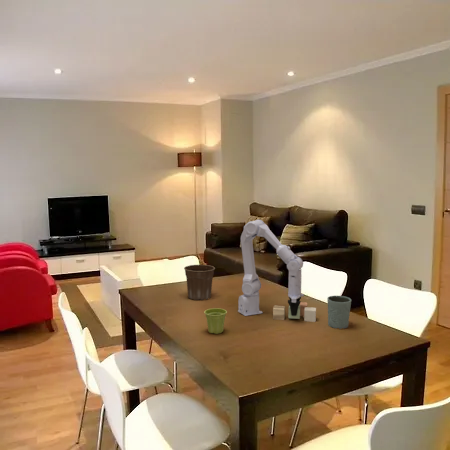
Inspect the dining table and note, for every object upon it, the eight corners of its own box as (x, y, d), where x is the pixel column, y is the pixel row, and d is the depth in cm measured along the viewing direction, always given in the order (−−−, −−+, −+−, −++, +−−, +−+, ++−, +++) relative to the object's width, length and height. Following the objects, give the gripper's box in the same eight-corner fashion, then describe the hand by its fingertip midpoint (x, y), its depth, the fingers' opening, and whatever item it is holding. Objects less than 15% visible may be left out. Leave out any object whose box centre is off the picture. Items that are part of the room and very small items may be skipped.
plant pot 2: (210, 337, 187) (210, 316, 186) (200, 329, 195) (200, 310, 194) (230, 333, 191) (230, 313, 190) (220, 326, 200) (220, 307, 199)
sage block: (299, 318, 206) (299, 308, 206) (288, 318, 207) (288, 307, 207) (300, 315, 211) (300, 304, 211) (289, 314, 212) (289, 304, 212)
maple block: (284, 320, 208) (284, 309, 207) (272, 319, 209) (273, 308, 208) (284, 316, 213) (284, 306, 212) (274, 316, 214) (274, 305, 213)
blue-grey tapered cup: (334, 320, 207) (335, 294, 206) (355, 325, 200) (355, 298, 199) (322, 325, 200) (322, 298, 199) (342, 331, 193) (343, 303, 192)
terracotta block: (306, 316, 213) (307, 305, 213) (296, 315, 214) (296, 305, 214) (307, 312, 218) (307, 302, 218) (296, 312, 219) (296, 302, 219)
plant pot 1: (220, 295, 248) (220, 266, 246) (203, 303, 234) (203, 272, 232) (196, 291, 256) (196, 263, 254) (178, 298, 243) (177, 268, 241)
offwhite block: (315, 321, 205) (315, 311, 205) (304, 321, 206) (304, 310, 206) (315, 318, 210) (315, 307, 209) (304, 317, 211) (304, 307, 210)
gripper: (303, 289, 200) (302, 319, 201) (304, 281, 214) (303, 309, 215) (286, 288, 201) (286, 318, 203) (289, 280, 215) (288, 308, 217)
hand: (294, 313), depth 209 cm, fingers closed on sage block, 5 cm apart
